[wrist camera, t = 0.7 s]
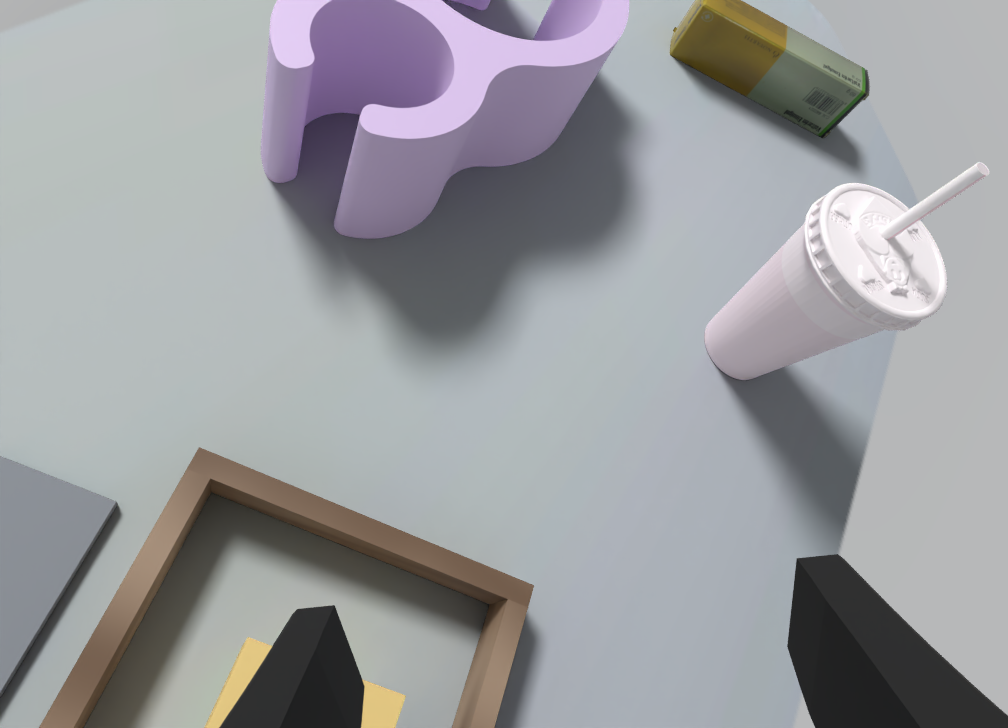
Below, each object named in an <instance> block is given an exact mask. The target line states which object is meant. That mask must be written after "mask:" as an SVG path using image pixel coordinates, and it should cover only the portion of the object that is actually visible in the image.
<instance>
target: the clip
mask: <svg viewBox="0 0 1008 728" xmlns="http://www.w3.org/2000/svg"><path fill="white" fill-rule="evenodd" d="M450 1H455V2H459V3H462V4H465V5H468V6H471V7H473V8H476V9H478V10H485V9H487V8H488V6H489V3H490V1H491V0H450ZM628 15H629V0H552V2H551V4H550V6H549V8H548V10H547V12H546V14H545V16H544V18H543V20H542V22H541V25H540V27H539V29H538V31H537V33H536V35H535V37H534V39H533V40H526V39H520V38H515V37H511V36H507V35H504V34H501V33H498V32H495V31H493V30H490V29H488V28H486V27H483V26H481V25H479V24H477V23H475V22H473V21H471V20H470V19H468V18H466V17H464V16H463V15H461V14H460V13H458V12H457V11H455V10H454V9H452V8H451V7H450V6H448V5H447V4H446V3H445V2H443V1H442V0H277V2H276V4H275V6H274V9H273V11H272V15H271V20H270V32H269V46H268V59H267V72H266V86H265V99H264V112H263V126H262V139H261V158H262V164H263V168H264V171H265V174H266V176H267V177H268V178H269V179H270V180H271V181H273V182H276V183H284V182H288V181H291V180H293V179H294V178H295V177H296V176H297V172H298V165H299V159H300V152H301V145H302V139H303V132H304V127H305V126H306V125H307V124H308V123H309V122H311V121H312V120H314V119H316V118H318V117H321V116H324V115H327V114H333V113H352V114H358V115H360V118H359V122H358V126H357V130H356V134H355V138H354V142H353V146H352V150H351V154H350V159H349V163H348V167H347V171H346V175H345V179H344V183H343V187H342V191H341V195H340V199H339V203H338V207H337V211H336V216H335V220H334V228H335V230H336V231H337V232H338V233H339V234H341V235H343V236H348V237H353V238H365V239H374V238H384V237H390V236H394V235H398V234H400V233H403V232H406V231H408V230H410V229H412V228H413V227H415V226H417V225H418V224H419V223H421V222H422V221H423V220H424V219H425V218H426V217H427V216H428V215H429V214H430V213H431V212H432V210H433V209H434V207H435V206H436V204H437V202H438V199H439V197H440V195H441V193H442V191H443V188H444V186H445V184H446V182H447V180H448V179H449V178H450V177H451V176H452V175H454V174H455V173H457V172H458V171H460V170H463V169H466V168H470V167H477V166H487V167H495V166H507V165H513V164H517V163H521V162H524V161H527V160H529V159H532V158H534V157H536V156H538V155H539V154H541V153H542V152H544V151H545V150H547V149H548V148H549V147H550V146H551V145H552V144H553V143H554V142H555V141H556V140H557V138H558V137H559V135H560V134H561V132H562V131H563V129H564V127H565V126H566V124H567V122H568V121H569V119H570V118H571V116H572V114H573V113H574V111H575V110H576V108H577V106H578V105H579V103H580V101H581V100H582V98H583V97H584V95H585V93H586V92H587V90H588V89H589V87H590V85H591V84H592V82H593V80H594V79H595V77H596V76H597V74H598V72H599V71H600V69H601V67H602V66H603V64H604V63H605V61H606V59H607V58H608V56H609V55H610V53H611V51H612V50H613V48H614V46H615V45H616V43H617V42H618V40H619V38H620V37H621V35H622V33H623V31H624V29H625V27H626V24H627V20H628Z"/></svg>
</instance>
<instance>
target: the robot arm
mask: <svg viewBox="0 0 1008 728" xmlns="http://www.w3.org/2000/svg"><path fill="white" fill-rule="evenodd" d="M787 647H788V650H789V653H790V656H791V659H792V662H793V666H794V669H795V672H796V675H797V678H798V681H799V684H800V687H801V690H802V693H803V696H804V699H805V702H806V705H807V708H808V711H809V714H810V716H811V719H812V721H813V723H814V726H815V728H1008V716H1007V715H1006V714H1005V713H1004V712H1003V711H1002V710H1000V709H999V708H998V707H997V706H996V705H995V704H994V703H993V702H991V701H990V700H989V699H988V698H987V697H985V695H984V694H982V693H981V692H980V691H979V690H978V689H977V688H976V687H974V685H972V684H971V683H970V682H969V681H968V680H967V679H966V678H965V677H964V676H963V675H962V674H961V673H959V672H958V671H957V670H956V669H955V668H954V667H953V666H952V665H951V664H950V663H949V662H948V661H946V660H945V659H944V658H943V657H942V656H941V655H940V654H939V653H938V652H937V651H936V650H935V649H934V648H932V647H931V646H930V645H929V644H928V643H927V642H926V641H925V640H924V639H923V638H922V637H921V636H920V635H919V634H918V633H917V632H916V631H915V630H914V629H913V628H912V627H911V626H910V625H908V623H907V622H906V621H905V620H904V619H902V617H901V616H900V615H899V614H897V612H895V611H894V610H893V609H892V608H891V607H890V606H889V605H888V604H887V603H886V602H885V601H884V599H882V598H881V596H880V595H879V594H878V593H877V592H876V591H875V590H874V589H873V588H872V587H870V585H869V584H868V583H867V582H866V581H865V580H864V579H863V578H862V577H861V576H860V575H859V574H858V573H857V572H856V571H855V570H854V569H853V568H852V567H851V566H850V565H849V564H848V563H847V562H846V561H845V560H844V559H843V558H842V557H841V556H839V555H838V554H836V555H826V556H816V557H807V558H797V562H796V571H795V581H794V590H793V599H792V609H791V618H790V627H789V637H788V646H787ZM364 688H365V686H364V683H363V681H362V678H361V675H360V673H359V670H358V667H357V665H356V662H355V659H354V656H353V654H352V651H351V648H350V646H349V643H348V640H347V638H346V635H345V632H344V630H343V627H342V624H341V622H340V619H339V616H338V614H337V611H336V608H335V606H334V605H333V606H324V607H314V608H304V609H297V610H296V611H295V612H294V613H293V614H292V616H291V618H290V619H289V621H288V622H287V624H286V625H285V627H284V629H283V630H282V632H281V633H280V635H279V637H278V638H277V640H276V641H275V643H274V645H273V646H272V648H271V649H270V651H269V653H268V654H267V656H266V657H265V659H264V661H263V662H262V664H261V665H260V667H259V668H258V670H257V672H256V673H255V675H254V676H253V678H252V679H251V681H250V682H249V684H248V685H247V687H246V689H245V690H244V692H243V693H242V695H241V696H240V698H239V699H238V701H237V702H236V704H235V705H234V707H233V708H232V710H231V711H230V712H229V714H228V715H227V717H226V718H225V720H224V721H223V723H222V724H221V726H220V727H219V728H361V725H362V713H363V700H364Z"/></svg>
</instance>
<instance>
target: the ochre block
mask: <svg viewBox="0 0 1008 728" xmlns="http://www.w3.org/2000/svg"><path fill="white" fill-rule="evenodd" d="M271 648H272V646H270V645H268V644H265V643H262V642H260V641H257V640H254V639H252V638H249V637H248V638H247V640H246V641H245V643H244V644H243V646H242V648H241V650H240V652H239V654H238V656H237V659H236V661H235V663H234V665H233V667H232V669H231V671H230V674H229V676H228V678H227V680H226V682H225V684H224V686H223V689H222V691H221V693H220V695H219V697H218V699H217V702H216V704H215V706H214V708H213V710H212V712H211V714H210V717H209V719H208V721H207V723H206V725H205V727H204V728H219V727H220V726H221V724H222V723H223V721H224V720H225V718H226V717H227V715H228V714H229V712H230V711H231V710H232V708H233V707H234V705H235V704H236V702H237V701H238V699H239V698H240V696H241V695H242V693H243V692H244V690H245V689H246V687H247V685H248V684H249V682H250V681H251V679H252V678H253V676H254V675H255V673H256V672H257V670H258V668H259V667H260V665H261V664H262V662H263V661H264V659H265V657H266V656H267V654H268V653H269V651H270V649H271ZM362 681H363V683H364V686H365V688H364V700H363V713H362V725H361V728H395V726H396V723H397V720H398V718H399V715H400V712H401V709H402V706H403V703H404V700H405V697H406V696H405V695H403V694H400V693H397V692H395V691H392V690H389V689H386V688H384V687H381V686H378V685H376V684H373V683H370V682H368V681H365V680H362Z"/></svg>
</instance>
